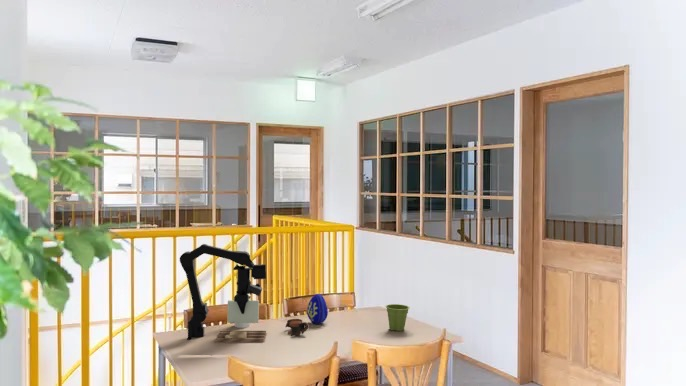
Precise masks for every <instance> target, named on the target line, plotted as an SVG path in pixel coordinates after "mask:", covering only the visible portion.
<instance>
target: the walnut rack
mask: <svg viewBox="0 0 686 386" xmlns="http://www.w3.org/2000/svg"><path fill="white" fill-rule="evenodd" d="M231 331H232V330H219V332H218V334H217V335H216V337H215V338H214V339H215V340H214V342H213V343H265V342H266V340H267V335H268V332H267V330H246V331H247V334H246V335H247V337H246V338H225V336H226V335H230V332H231Z"/></svg>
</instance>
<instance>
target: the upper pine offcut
mask: <svg viewBox="0 0 686 386" xmlns="http://www.w3.org/2000/svg"><path fill="white" fill-rule="evenodd" d="M230 331H231V332H230V337H246V334H247V331H248V330H230Z"/></svg>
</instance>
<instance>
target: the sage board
mask: <svg viewBox="0 0 686 386" xmlns="http://www.w3.org/2000/svg"><path fill="white" fill-rule="evenodd" d="M259 308H260V300H259V299H258V300H257V299H256V300H254V299H253V300H252V299H250V300H249V301H248V302H247V303H246V306H245V312H244V314H242V313H241V311H240V309H239V306H238V304H237V302H235V301H234V299H233V300H230V299H229V300H227V314H226V315H227V320H226V322H227V324H235V323H251V324H259V320H260V319H259V317H260V315H259V314H260V313H259V312H260V309H259Z"/></svg>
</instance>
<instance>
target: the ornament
mask: <svg viewBox="0 0 686 386" xmlns="http://www.w3.org/2000/svg"><path fill="white" fill-rule="evenodd" d="M328 311H329V309H328V306H327V302H326V300H325V298H324V296H323V295H322V294H320V293H317V294H316V293H315V294H314V295H313V296H312V297H311V298H310V300H309V302H308V304H307V309H306V315H307V318H308V319H309V321H310V322H311V323H312V324H316V325H319V324H323V323H325V321H326V320H327V318H328V314H329V312H328Z"/></svg>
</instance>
